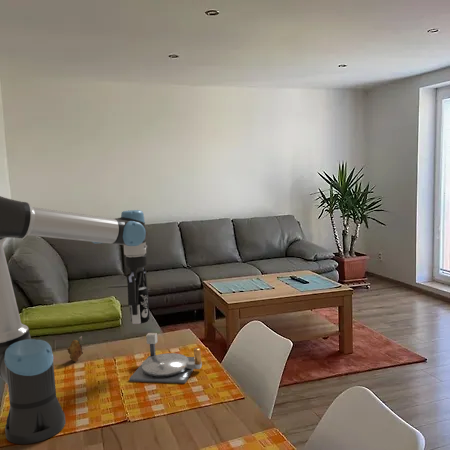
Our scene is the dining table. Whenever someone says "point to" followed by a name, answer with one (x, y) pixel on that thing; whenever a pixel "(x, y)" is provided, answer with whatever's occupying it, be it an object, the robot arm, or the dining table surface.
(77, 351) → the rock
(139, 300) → the beverage can
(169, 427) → the dining table surface
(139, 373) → the turntable base
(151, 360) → the turntable
